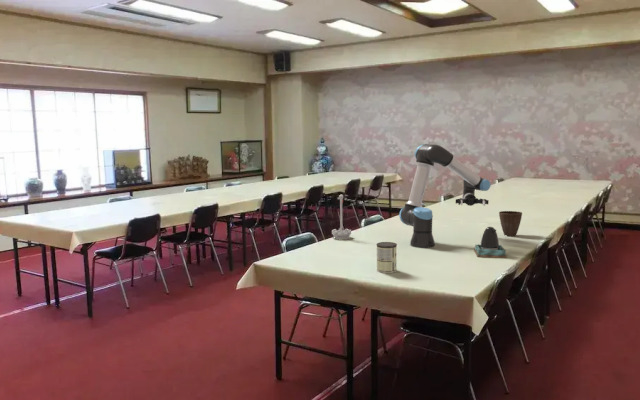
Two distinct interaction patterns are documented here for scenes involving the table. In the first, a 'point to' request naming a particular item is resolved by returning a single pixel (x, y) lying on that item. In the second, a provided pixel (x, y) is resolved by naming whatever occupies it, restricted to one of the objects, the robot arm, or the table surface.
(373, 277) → the table surface
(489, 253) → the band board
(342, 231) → the flag stand
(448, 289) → the table surface
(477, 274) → the table surface
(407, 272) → the table surface
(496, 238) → the dark grey glossy oval
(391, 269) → the coffee can
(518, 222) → the plant pot
